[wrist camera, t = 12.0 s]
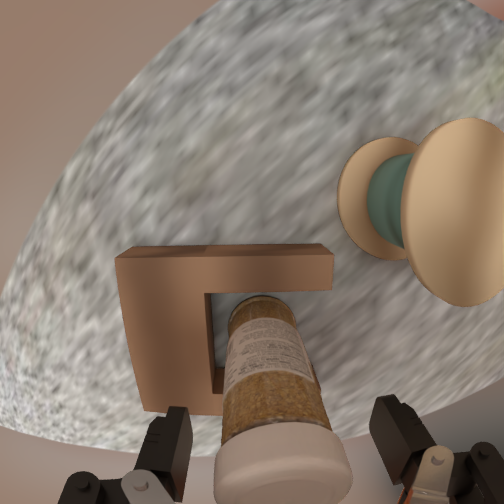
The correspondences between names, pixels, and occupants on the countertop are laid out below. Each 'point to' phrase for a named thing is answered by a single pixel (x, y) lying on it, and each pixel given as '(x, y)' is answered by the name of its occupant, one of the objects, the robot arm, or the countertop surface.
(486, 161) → the bobbin
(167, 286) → the c-shaped block
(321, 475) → the sprinkles bottle
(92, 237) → the countertop surface
